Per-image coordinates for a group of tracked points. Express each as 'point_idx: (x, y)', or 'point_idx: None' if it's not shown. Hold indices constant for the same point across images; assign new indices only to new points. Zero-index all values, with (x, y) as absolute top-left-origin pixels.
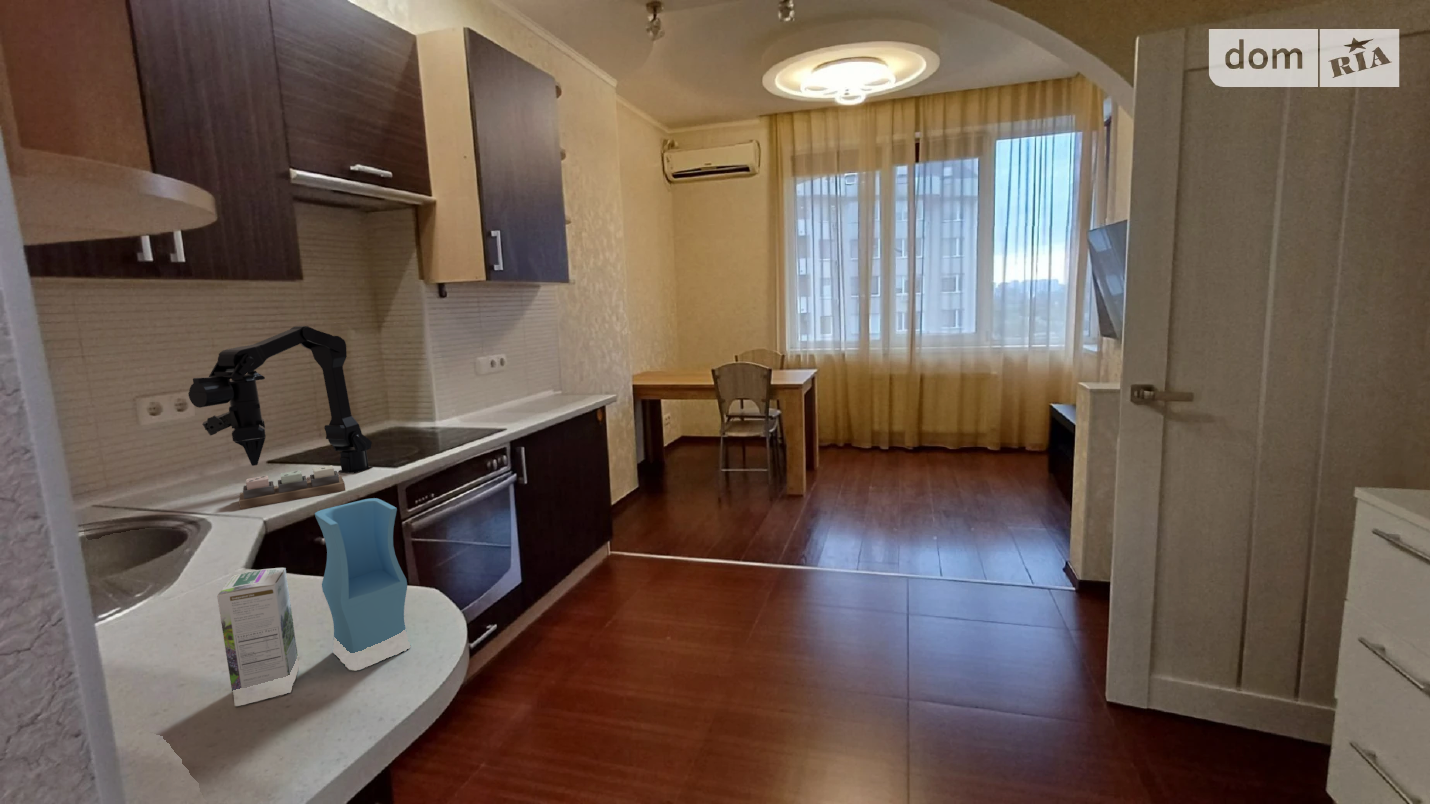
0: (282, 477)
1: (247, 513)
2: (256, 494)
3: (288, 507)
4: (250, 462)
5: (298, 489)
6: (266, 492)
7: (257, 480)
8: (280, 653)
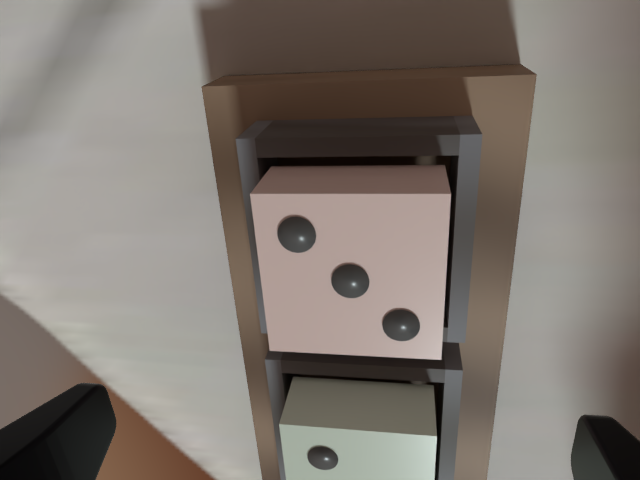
0: (281, 427)
1: (91, 125)
2: None
3: (106, 314)
4: (35, 409)
5: None
6: None
7: (273, 281)
8: None
